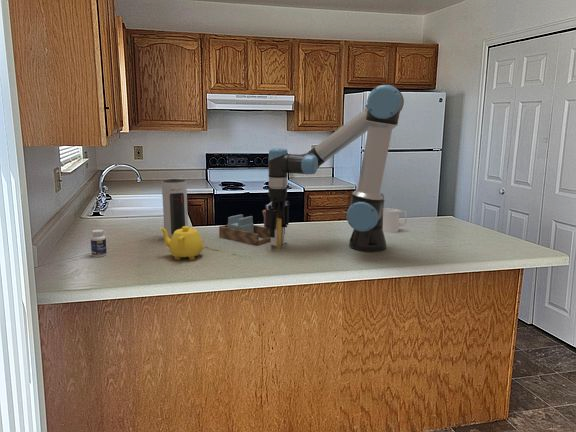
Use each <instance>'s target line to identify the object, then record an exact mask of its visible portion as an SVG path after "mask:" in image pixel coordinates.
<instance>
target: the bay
mask: <svg viewBox="0 0 576 432" xmlns="http://www.w3.org/2000/svg"><path fill="white" fill-rule="evenodd" d="M218 231H219V232H218V233H219V234H218V235H219V238H221V239H226V240H230V241H234V242H239V243H243V244H248V245H251V246H257V247H258V246H261V245H265V244H268V243H271V237H270V229H268V228H266V227H264V226H261V225H257V224H256V225H255V224H254V233H251V232H246V231H242V230H237V229H232V228H227V224H224V225H220V226H219V227H218ZM259 238H261V239H259Z"/></svg>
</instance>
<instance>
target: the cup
mask: <svg viewBox="0 0 576 432" xmlns="http://www.w3.org/2000/svg"><path fill="white" fill-rule="evenodd" d="M400 213H404V216H405V217H404V222H403V223H400ZM407 219H408V215H407V211H406V209H405V210H403V209H397V208H392V207H391V208H389V207H388V208H387V207H386V208H385V207H384V211H383V233H389V234H390V233H397V232H399V227H404V226H406V224H407Z"/></svg>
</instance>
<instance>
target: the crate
mask: <svg viewBox="0 0 576 432" xmlns="http://www.w3.org/2000/svg"><path fill="white" fill-rule="evenodd" d="M253 218H254V217H253V215H250V216H245V217H244V214H237V215H232V216H228V217H227V224H226V225H227V228H232V229H237V230H242V231H246V232H251V233H254V225H255V224H254V220H253Z"/></svg>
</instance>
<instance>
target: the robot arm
mask: <svg viewBox="0 0 576 432" xmlns="http://www.w3.org/2000/svg"><path fill="white" fill-rule="evenodd" d="M404 99H405V98H404V96H403V93H402V92H401V91H400V89H398V88H396V87H395V86H393V85H391V84H382V85H378V86H376V87H375V88H373V89H372V90H371V91H370V92H369V94H368V96H367V101H366V105H364V109H363V110H362V111H360V112H359V113H358V114H357V115H355V116H353V117H352V118H351V119H350V120H349V121H346V123H344V124H343V125H342V126H340V127H339V128H338V129H336V130H335V131H334V132H333V133H332V134H330V135H328V136H327V137H326V138H325V139H323V140H322V141H321V142H319V143H318V144H316V145H315V146H314V147H313V148H311V149H310V150H308V151H307V152H306V153H302V154H301V153H300V154H295V153H294V154H290V153H289V152H288V149H287V148H271V149H270V150H268V160H267V161H268V193H267V195H268V197H269V203H268V204H265V205H264V210H266V228H268V229H270V237H271V242H270V246H274V245H275V246H276V245H277V230H276V222H277V214H278V217H279V218H280V219H282V227H281V244H285V235H286V228H287V227H288V225H289V223H290V222H289V221H290V206H291V201H289V200H287V199H286V198H287V197H288V188H287V187H288V174H297V175H298V174H300V175H306V176H308V175H315V174H316V173H317V171H318V168H320V167H321V166H322V165H323V164H325V162H327V161H328V160H330V159H331V158H333V157H334V156H335V155H337V154H338V153H339V152H340V151H342V150H343V149H345V148H347V146H349V145H351V144H352V143H353V142H354V141H355V140H357V139H358V138H360V137H361V136H363V135H364V134H365V133H367V134H366V139H365V140H366V141H365V145H364V151H363V156H362V161H361V167H360V171H359V177H358V183H357V188H356V189H355V190H354V191H353V192H352V194H351V198H350V204H349V205H350V206H349V207H348V208H347V211H346V220H347V223H348V225H349V226H350V227H351V228H352V229H353V230H352V233H351V235H350V239H349V240H348V241H349V244H348V246H349V248H350V249H353V250H355V251H361V252H372V253H373V252H380V251H384V250H386V249H387V241H386V238H385V234H384V233H385V232H383V211H384V209H385V195H384V193H381V188H382V183H383V178H384V174H385V169H386V168H385V167H386V162H387V157H388V153H389V147H390V141H391V138H392V136H391V135H392V132H393V130H394V129H395V128H396V127H397V126H398V124H399V118H400V115H401V114H400V113H401V112H402V110H403V108H404V105H405V104H404V103H405V102H404V101H405V100H404ZM274 210H275V211H274Z"/></svg>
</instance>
